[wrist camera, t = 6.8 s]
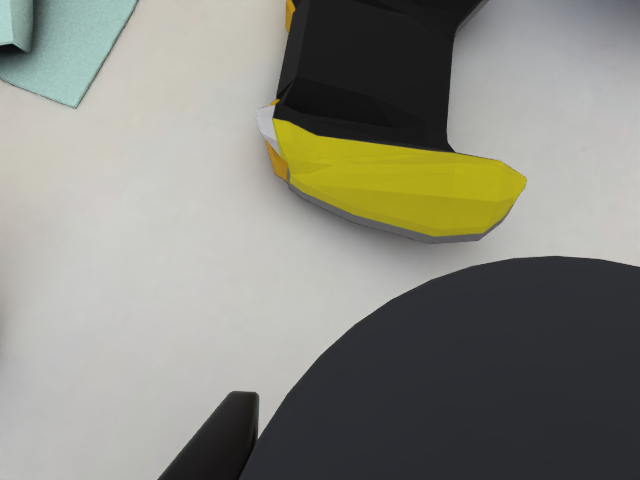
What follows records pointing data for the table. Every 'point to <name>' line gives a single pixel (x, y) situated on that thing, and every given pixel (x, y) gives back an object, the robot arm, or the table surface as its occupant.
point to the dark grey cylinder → (474, 382)
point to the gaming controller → (381, 120)
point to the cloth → (58, 43)
